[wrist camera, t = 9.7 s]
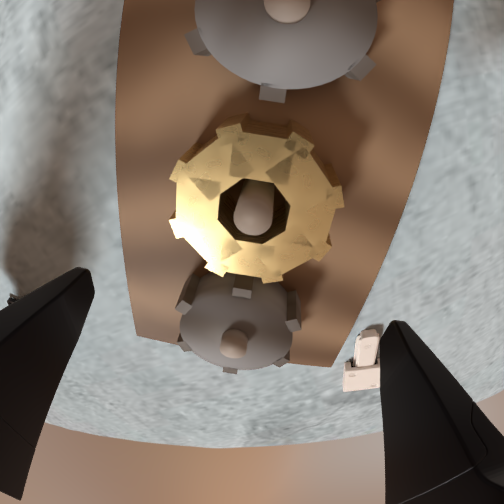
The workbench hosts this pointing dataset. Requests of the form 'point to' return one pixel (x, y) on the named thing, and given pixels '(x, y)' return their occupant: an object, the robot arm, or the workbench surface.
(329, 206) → the brass gear
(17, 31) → the workbench surface
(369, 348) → the corner connector
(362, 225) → the gear board
